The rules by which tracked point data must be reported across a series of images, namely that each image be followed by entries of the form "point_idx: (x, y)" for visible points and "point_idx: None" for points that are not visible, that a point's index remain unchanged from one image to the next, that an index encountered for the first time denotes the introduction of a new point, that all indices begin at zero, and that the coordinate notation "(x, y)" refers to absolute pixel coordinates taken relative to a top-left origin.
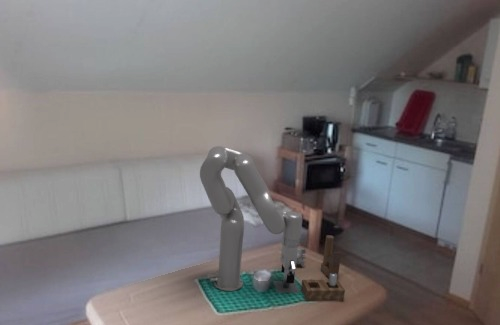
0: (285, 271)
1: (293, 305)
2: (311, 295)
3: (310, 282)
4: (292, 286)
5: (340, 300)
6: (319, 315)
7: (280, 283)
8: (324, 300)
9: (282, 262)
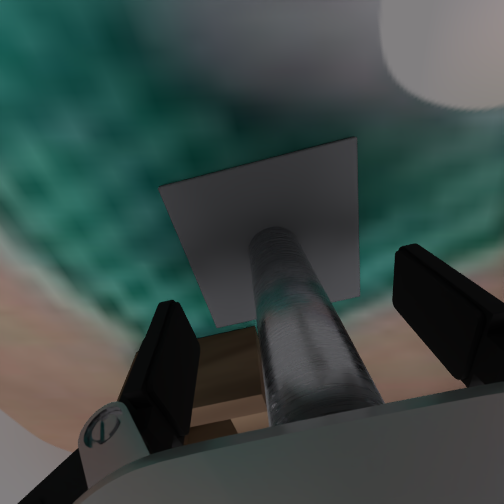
0: (277, 343)
1: (51, 296)
2: None
3: (237, 428)
4: None
5: None
6: (34, 397)
7: (315, 207)
8: None
9: (368, 489)
